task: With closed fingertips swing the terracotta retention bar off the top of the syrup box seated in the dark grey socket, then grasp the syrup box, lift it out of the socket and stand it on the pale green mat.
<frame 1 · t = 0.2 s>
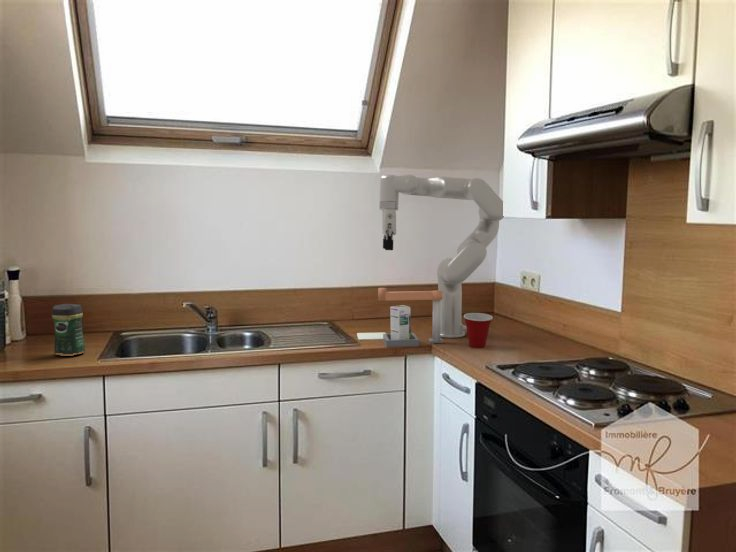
hand: (387, 249, 235), 36 cm above the worktop, tool pointing down, fingers open, 9 cm apart
clip: (410, 293, 225), point 19 cm above the worktop, hinge at 0.0°
coffee jar: (70, 355, 211), on the worktop
plastic cup: (477, 347, 220), on the worktop
syrup box: (400, 343, 227), resting in socket
mat: (372, 336, 239), on the worktop
socket: (400, 343, 227), on the worktop
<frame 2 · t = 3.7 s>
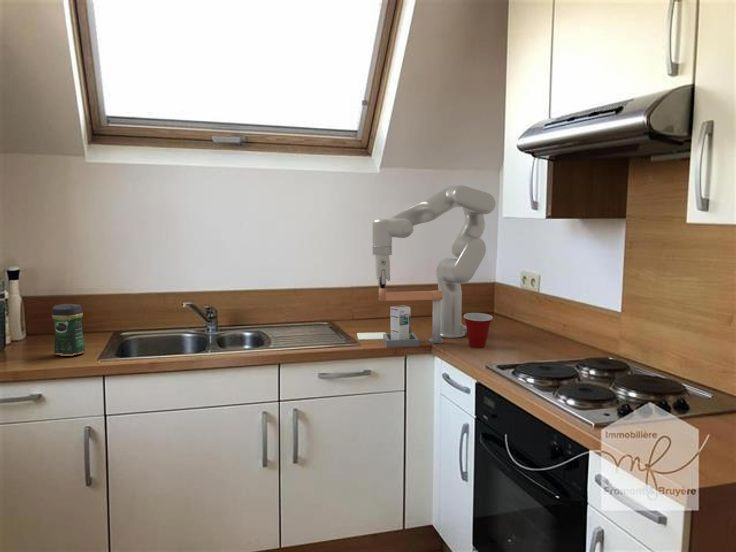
hand: (382, 298, 228), 17 cm above the worktop, tool pointing down, fingers closed
clip: (410, 294, 225), point 19 cm above the worktop, hinge at 2.4°, touching gripper
everything else where it was.
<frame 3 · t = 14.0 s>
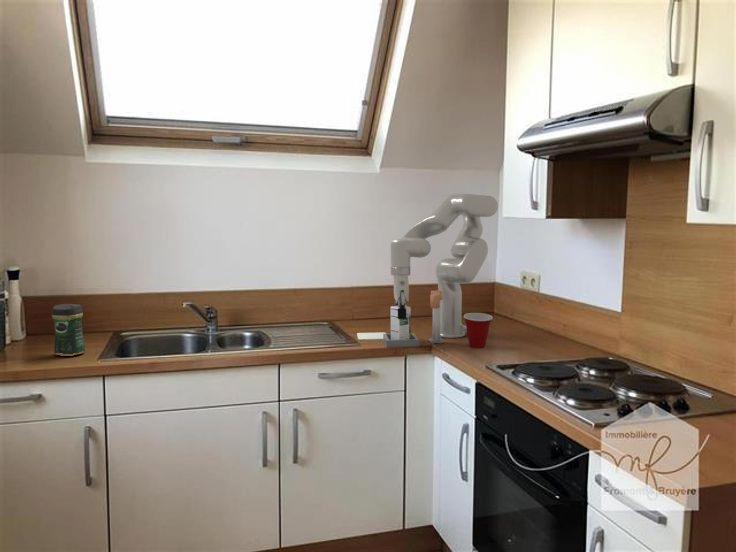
hand: (400, 316, 226), 10 cm above the worktop, tool pointing down, fingers closed on syrup box, 7 cm apart
clip: (435, 297, 216), point 19 cm above the worktop, hinge at 77.6°
syrup box: (400, 343, 227), resting in socket, touching gripper
everything else where it was.
when the fingers open (11 cm above the worktop, at t = 22.5 s): syrup box stays where it is, resting on mat.
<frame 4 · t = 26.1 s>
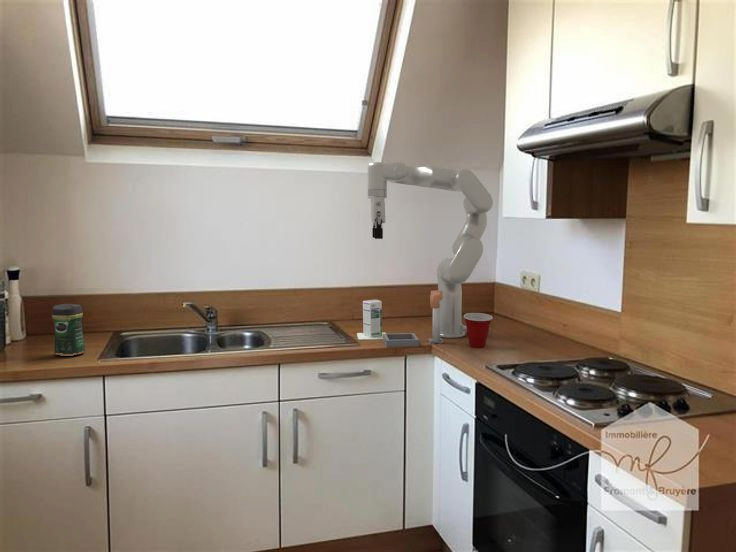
hand: (377, 238, 231), 40 cm above the worktop, tool pointing down, fingers open, 9 cm apart
syrup box: (372, 336, 239), resting on mat
everything else where it was.
at the end: clip at +78° (first picture: +0°); syrup box inside the target area on the mat (0.2 cm from its centre), point 0.2 cm above the mat's base; syrup box tilted 0° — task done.
